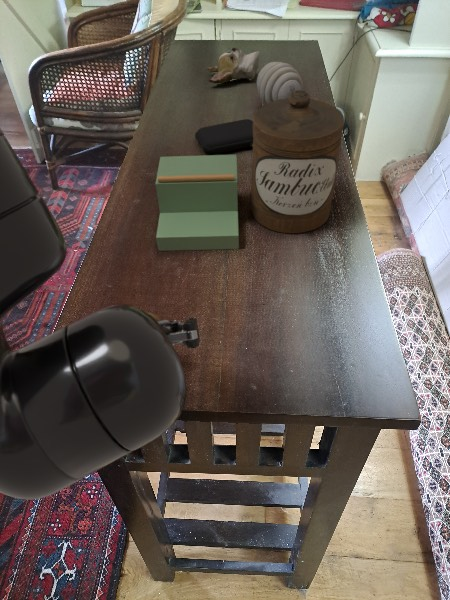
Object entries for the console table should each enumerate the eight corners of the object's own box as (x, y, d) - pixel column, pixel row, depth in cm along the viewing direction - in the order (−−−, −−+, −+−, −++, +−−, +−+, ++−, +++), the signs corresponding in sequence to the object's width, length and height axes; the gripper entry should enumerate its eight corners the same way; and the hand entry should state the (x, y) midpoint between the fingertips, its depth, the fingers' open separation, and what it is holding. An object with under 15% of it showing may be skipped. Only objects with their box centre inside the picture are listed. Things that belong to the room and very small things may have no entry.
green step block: (158, 251, 80) (149, 202, 72) (166, 198, 90) (159, 151, 83) (238, 249, 79) (238, 200, 72) (237, 196, 90) (236, 149, 83)
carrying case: (207, 161, 100) (269, 148, 103) (206, 148, 97) (270, 135, 100) (193, 139, 106) (251, 127, 110) (192, 126, 104) (252, 115, 107)
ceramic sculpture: (262, 51, 119) (205, 58, 119) (263, 85, 126) (209, 92, 126) (256, 38, 127) (203, 45, 127) (257, 71, 133) (206, 77, 133)
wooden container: (252, 235, 82) (254, 114, 66) (250, 188, 92) (251, 74, 76) (335, 233, 81) (358, 112, 65) (324, 187, 91) (341, 72, 75)
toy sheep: (276, 94, 122) (279, 49, 114) (316, 118, 112) (322, 70, 104) (243, 104, 119) (243, 58, 111) (281, 129, 108) (284, 81, 100)
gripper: (197, 297, 40) (192, 295, 56) (28, 322, 38) (73, 312, 54) (209, 382, 40) (200, 356, 56) (42, 410, 38) (83, 374, 55)
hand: (138, 334), depth 55 cm, fingers open, 8 cm apart
